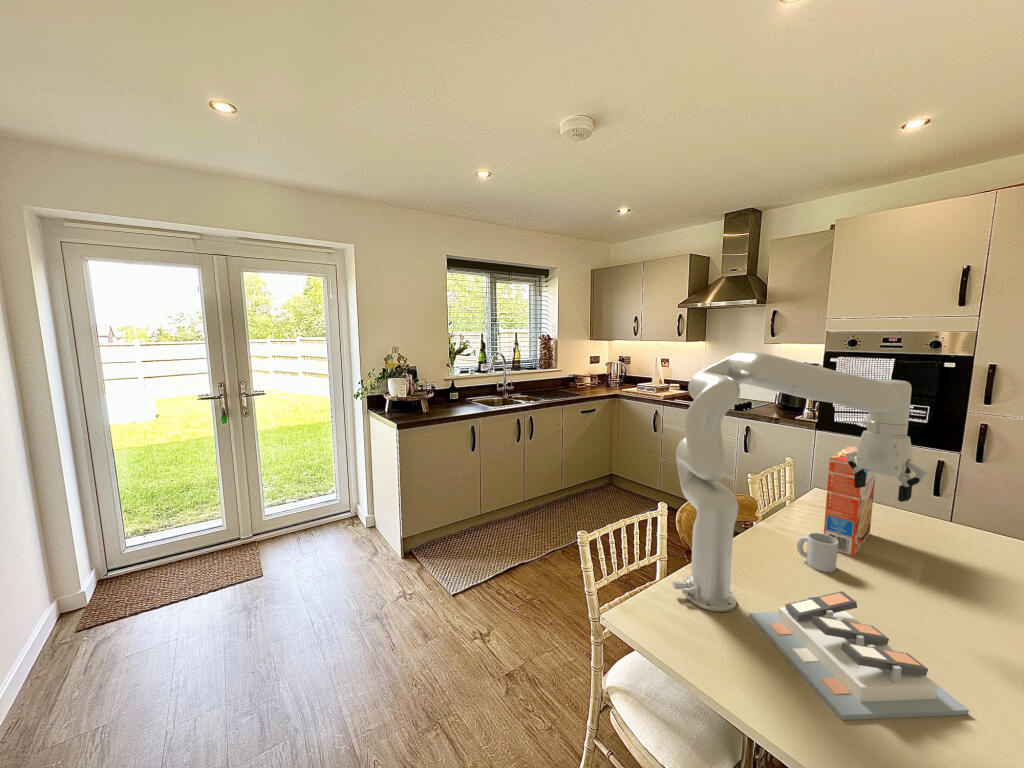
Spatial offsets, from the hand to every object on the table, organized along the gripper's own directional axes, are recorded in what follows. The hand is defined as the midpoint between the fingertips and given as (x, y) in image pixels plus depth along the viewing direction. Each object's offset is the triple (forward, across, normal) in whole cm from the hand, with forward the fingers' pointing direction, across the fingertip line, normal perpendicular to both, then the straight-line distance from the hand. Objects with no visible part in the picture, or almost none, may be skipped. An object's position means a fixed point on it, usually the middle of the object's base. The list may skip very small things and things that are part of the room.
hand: (880, 493), depth 107 cm
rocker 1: (+22, +4, -26) cm, 34 cm away
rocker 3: (+22, +20, -30) cm, 42 cm away
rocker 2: (+22, +12, -28) cm, 38 cm away
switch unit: (+29, +12, -28) cm, 42 cm away
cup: (+29, -16, +3) cm, 34 cm away
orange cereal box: (+29, -23, +28) cm, 47 cm away
